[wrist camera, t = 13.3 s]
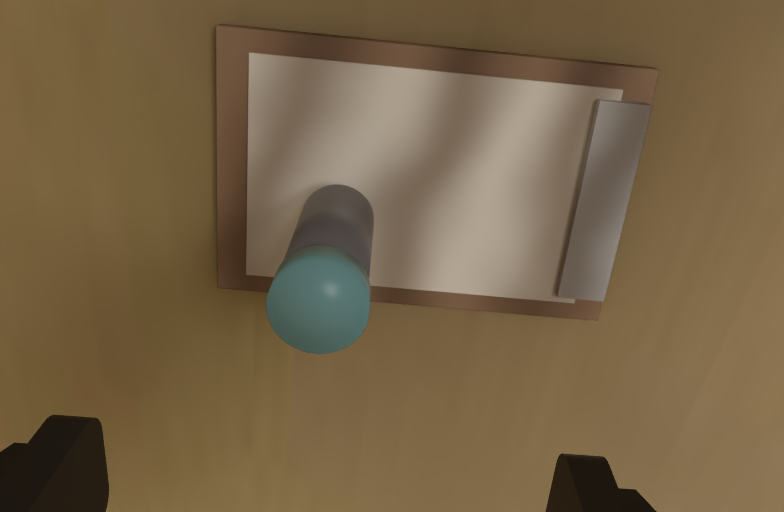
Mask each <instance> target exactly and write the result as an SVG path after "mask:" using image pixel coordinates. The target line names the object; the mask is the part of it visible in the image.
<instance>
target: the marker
mask: <svg viewBox="0 0 784 512" xmlns="http://www.w3.org/2000/svg"><path fill="white" fill-rule="evenodd" d="M373 229H374V213H373V209H372V207H371V205H370V203H369V201H368V200H367V199H366V197H365V196H364V195H363V194H362V193H360V192H359V191H358V190H356V189H354V188H352V187H349V186H346V185H338V184H334V185H328V186H324V187H322V188H320V189H318V190H316V191H315V192H314V193H312V194H311V195H310V196H309V198H308V199H307V201H306V202H305V204H304V207H303V209H302V212H301V215H300V217H299V220H298V223H297V225H296V228H295V231H294V234H293V236H292V239H291V242H290V244H289V247H288V250H287V252H286V255H285V258H284V260H283V262H282V263H281V264H280V266H279V268H278V269H277V272H276V274H275V277H274V279H273V282H272V284H271V287H270V290H269V292H268V296H267V301H266V311H267V316H268V319H269V322H270V324H271V326H272V328H273V330H274V331H275V332H276V334H277V335H278V336H279V337H280V338H281V339H282V340H283V341H285V342H286V343H287V344H289V345H290V346H292V347H294V348H296V349H299V350H301V351H304V352H308V353H315V354H324V353H331V352H336V351H339V350H341V349H344V348H346V347H347V346H349V345H351V344H352V343H353V342H354V341H356V340H357V339H358V338H359V337H360V335H361V334H362V333H363V331H364V329H365V327H366V325H367V322H368V318H369V311H370V298H371V286H370V281H369V277H370V265H371V253H372V241H373Z"/></svg>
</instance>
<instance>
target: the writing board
mask: <svg viewBox="0 0 784 512" xmlns="http://www.w3.org/2000/svg"><path fill="white" fill-rule="evenodd" d="M659 71H660V70H658V69H656V68H654V67H644V66H634V65H624V64H614V63H604V62H594V61H585V60H575V59H565V58H555V57H545V56H535V55H525V54H515V53H505V52H495V51H485V50H475V49H465V48H455V47H446V46H436V45H426V44H416V43H406V42H396V41H386V40H376V39H366V38H356V37H346V36H336V35H326V34H317V33H307V32H297V31H287V30H277V29H267V28H257V27H247V26H237V25H227V24H218V25H216V98H217V258H218V288H225V289H236V290H248V291H259V292H269V290H270V287H271V284H272V282H273V279H274V277H275V274H276V272H277V269H278V268H279V266H280V264H281V263H282V262H283V260H284V258H285V255H286V252H287V250H288V247H289V244H290V242H291V239H292V236H293V234H294V231H295V228H296V225H297V223H298V220H299V217H300V215H301V212H302V209H303V207H304V204H305V202H306V201H307V199H308V198H309V196H310V195H311V194H312V193H314V192H315V191H316V190H318V189H320V188H322V187H324V186H328V185H334V184H338V185H346V186H349V187H352V188H354V189H356V190H358V191H359V192H360V193H362V194H363V195H364V196H365V197H366V199H367V200H368V201H369V203H370V205H371V207H372V209H373V213H374V229H373V241H372V253H371V265H370V277H369V281H370V286H371V298H370V301H375V302H386V303H398V304H409V305H421V306H432V307H444V308H455V309H467V310H478V311H490V312H502V313H513V314H525V315H536V316H548V317H559V318H571V319H582V320H594V321H598V317H599V313H600V309H601V305H602V301H604V299H605V295H606V291H607V287H608V283H609V279H610V275H611V271H612V267H613V263H614V259H615V255H616V251H617V247H618V243H619V239H620V235H621V231H622V227H623V223H624V219H625V214H626V210H627V206H628V202H629V198H630V194H631V190H632V186H633V182H634V178H635V174H636V170H637V166H638V162H639V158H640V154H641V150H642V146H643V142H644V138H645V134H646V130H647V126H648V122H649V118H650V114H651V110H652V105H651V103H652V99H653V95H654V91H655V87H656V83H657V79H658V75H659Z"/></svg>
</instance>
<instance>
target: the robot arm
mask: <svg viewBox="0 0 784 512" xmlns="http://www.w3.org/2000/svg"><path fill="white" fill-rule="evenodd" d="M108 497H109V482H108V474H107V465H106V457H105V449H104V440H103V432H102V426H101V422H100V421H99V419H97V418H91V417H77V416H64V415H52V416H50V417H48V418H47V419H46V420H45V422H44V423H43V424H42V425H41V427H40V428H39V429H38V431H37V432H36V433H35V435H34V436H33V437H32V438H31V440H30V441H29V442H28V444H25V443H13V444H12V445H10V446H9V447H7V448H6V449H4V450H3V451H1V452H0V512H106V508H107V503H108ZM546 512H656V511H655V510H654V509H653V508H652V506H651V505H650V504H649V503H648V502H647V501H646V500H645V499H644V498H643V497H642V496H641V495H640V494H639V493H638V492H637V491H636V490H634V489H620V488H618V486H617V484H616V481H615V478H614V476H613V473H612V471H611V468H610V466H609V463H608V461H607V460H606V458H604V457H601V456H588V455H574V454H560V455H559V457H558V460H557V463H556V467H555V472H554V476H553V481H552V485H551V490H550V494H549V499H548V504H547V508H546Z"/></svg>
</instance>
